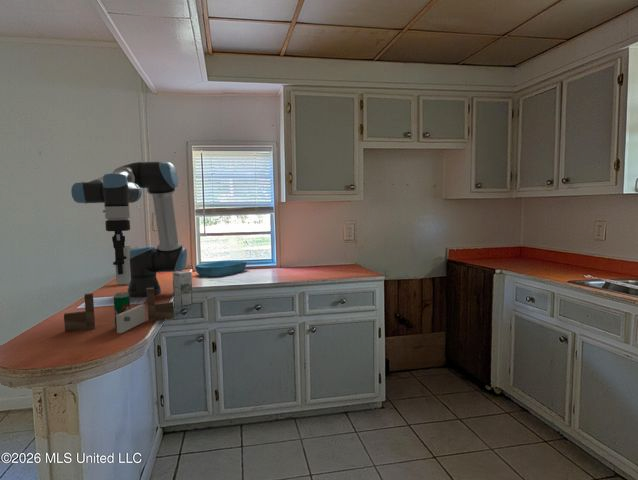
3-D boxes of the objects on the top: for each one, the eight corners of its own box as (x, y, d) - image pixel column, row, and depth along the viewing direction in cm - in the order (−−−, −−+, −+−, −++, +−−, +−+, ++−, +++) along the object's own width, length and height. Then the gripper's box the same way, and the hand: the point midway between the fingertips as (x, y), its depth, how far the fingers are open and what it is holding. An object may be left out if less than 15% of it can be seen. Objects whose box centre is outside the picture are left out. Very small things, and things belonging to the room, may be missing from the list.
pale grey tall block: (121, 284, 226) (119, 246, 224) (129, 282, 232) (127, 245, 230) (131, 285, 224) (129, 247, 222) (139, 283, 229) (137, 246, 228)
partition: (66, 330, 139) (63, 295, 138) (173, 316, 154) (171, 285, 153) (64, 332, 136) (62, 297, 135) (174, 318, 151) (172, 286, 150)
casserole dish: (226, 269, 282) (226, 259, 281) (253, 270, 272) (252, 260, 271) (188, 277, 249) (187, 266, 248) (216, 279, 239) (215, 267, 238)
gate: (141, 320, 148) (141, 304, 147) (149, 320, 147) (148, 304, 147) (117, 333, 133) (116, 315, 132) (125, 333, 133) (124, 315, 132)
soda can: (115, 326, 142) (113, 292, 142) (131, 324, 144) (129, 291, 144) (114, 330, 138) (112, 295, 137) (131, 328, 140) (129, 294, 139)
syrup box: (185, 302, 177) (183, 270, 176) (193, 304, 174) (191, 271, 172) (173, 305, 173) (172, 272, 172) (181, 307, 169) (179, 273, 168)
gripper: (106, 219, 148) (110, 276, 149) (103, 220, 125) (107, 287, 127) (129, 218, 151) (132, 274, 153) (130, 219, 128) (133, 285, 130)
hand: (121, 280), depth 140 cm, fingers open, 13 cm apart
